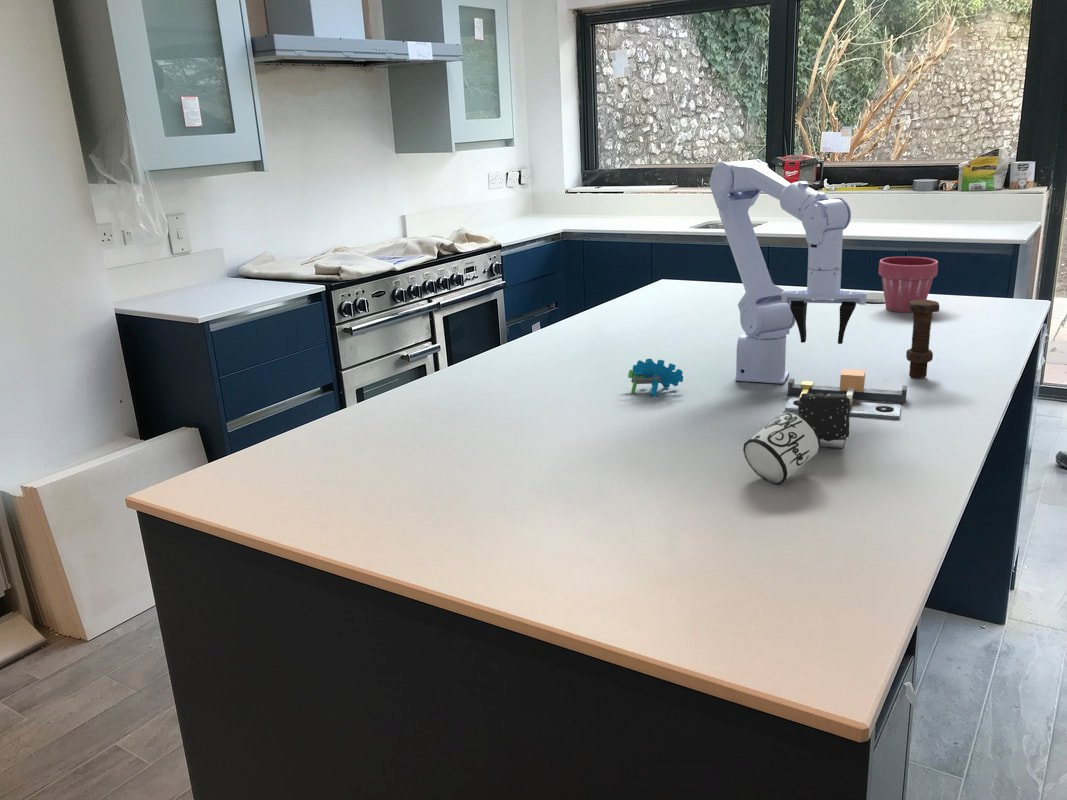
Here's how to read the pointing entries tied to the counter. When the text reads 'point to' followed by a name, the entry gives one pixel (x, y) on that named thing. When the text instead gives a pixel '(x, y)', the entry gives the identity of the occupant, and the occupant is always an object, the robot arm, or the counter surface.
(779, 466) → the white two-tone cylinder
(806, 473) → the counter surface
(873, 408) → the hole plate
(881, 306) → the counter surface
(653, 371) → the blue stegosaurus toy
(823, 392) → the rail
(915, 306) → the bolt
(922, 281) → the plant pot
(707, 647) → the counter surface
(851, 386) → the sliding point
